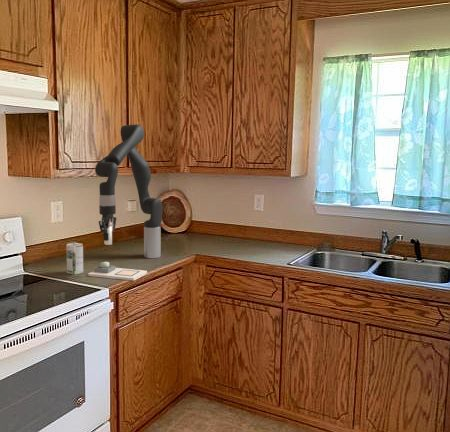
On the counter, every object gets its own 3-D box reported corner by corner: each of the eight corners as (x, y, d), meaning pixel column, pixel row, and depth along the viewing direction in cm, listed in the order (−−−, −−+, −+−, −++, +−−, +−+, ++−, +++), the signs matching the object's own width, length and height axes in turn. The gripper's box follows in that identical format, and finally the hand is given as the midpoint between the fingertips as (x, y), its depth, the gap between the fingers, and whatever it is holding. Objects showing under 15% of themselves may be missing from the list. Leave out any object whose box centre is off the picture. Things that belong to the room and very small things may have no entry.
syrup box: (66, 273, 228) (65, 243, 226) (76, 270, 233) (75, 241, 231) (74, 275, 225) (73, 245, 223) (84, 272, 230) (83, 243, 228)
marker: (106, 243, 228) (106, 221, 227) (113, 243, 228) (113, 222, 226) (102, 244, 225) (102, 222, 223) (109, 245, 224) (109, 223, 222)
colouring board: (103, 268, 237) (103, 262, 237) (146, 273, 231) (146, 266, 230) (88, 276, 224) (88, 269, 223) (134, 280, 217) (133, 274, 217)
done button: (103, 267, 231) (103, 261, 231) (111, 268, 230) (110, 261, 230) (98, 269, 227) (98, 263, 227) (106, 270, 226) (106, 263, 226)
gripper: (107, 202, 231) (108, 236, 234) (92, 205, 217) (93, 242, 220) (121, 202, 229) (121, 237, 232) (107, 206, 216) (108, 243, 218)
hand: (108, 239), depth 226 cm, fingers closed on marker, 3 cm apart
